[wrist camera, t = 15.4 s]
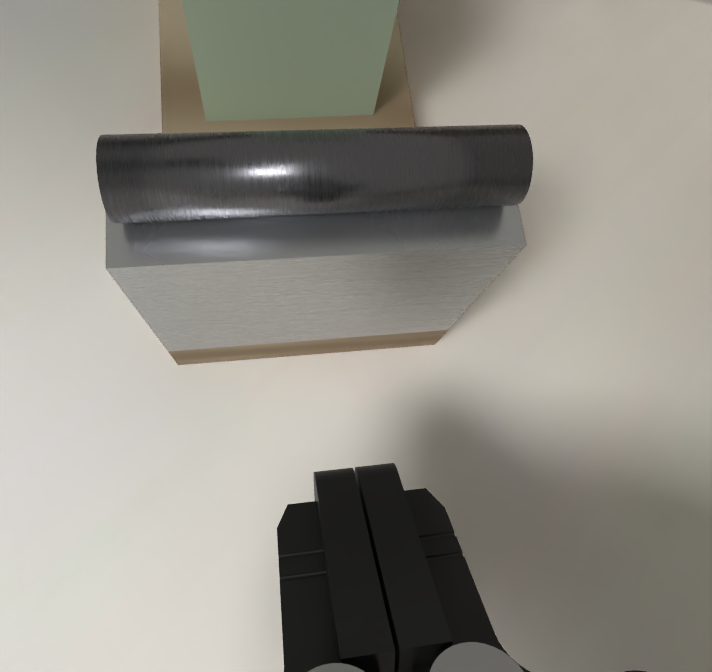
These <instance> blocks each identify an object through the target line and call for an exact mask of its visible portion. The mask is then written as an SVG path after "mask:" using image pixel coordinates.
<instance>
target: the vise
mask: <svg viewBox="0 0 712 672" xmlns="http://www.w3.org/2000/svg"><path fill="white" fill-rule="evenodd" d="M159 26H160V64H161V102H162V133H197V132H238V131H278V130H319V129H359V128H399V127H415V123H414V117H413V111H412V105H411V98H410V92H409V86H408V80H407V74H406V67H405V61H404V55H403V49H402V43H401V36H400V30H399V24H398V18H397V13H396V17H395V22H394V26H393V30H392V35H391V39H390V44H389V48H388V53H387V57H386V61H385V66H384V70H383V75H382V79H381V83H380V88H379V92H378V97H377V101H376V106H375V110H374V114H373V115H358V116H333V117H309V118H284V119H259V120H235V121H210V122H206V118H205V113H204V108H203V103H202V98H201V93H200V88H199V83H198V78H197V73H196V69H195V64H194V59H193V54H192V49H191V44H190V39H189V34H188V29H187V24H186V19H185V15H184V10H183V5H182V0H159ZM446 331H447V330H441V331H428V332H415V333H402V334H389V335H376V336H363V337H350V338H337V339H324V340H311V341H298V342H285V343H272V344H259V345H246V346H232V347H219V348H206V349H193V350H180V351H168V352H169V353H170V355H171V356H172V357H173V359H174V360H175V361H176V363H177V364H178V365H183V364H195V363H208V362H220V361H233V360H245V359H258V358H270V357H283V356H295V355H308V354H320V353H333V352H345V351H358V350H370V349H383V348H395V347H408V346H420V345H433V344H435V343H436V342H437V341H438V340H439V339H440V338H441V337H442V336H443V335H444V334H445V333H446Z"/></svg>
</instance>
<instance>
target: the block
mask: <svg viewBox="0 0 712 672" xmlns="http://www.w3.org/2000/svg"><path fill="white" fill-rule="evenodd" d="M398 4H399V0H182V5H183V10H184V15H185V19H186V24H187V29H188V34H189V39H190V44H191V49H192V54H193V59H194V64H195V69H196V73H197V78H198V83H199V88H200V93H201V98H202V103H203V108H204V113H205V118H206V122H210V121H235V120H259V119H284V118H309V117H333V116H358V115H373V114H374V110H375V106H376V101H377V97H378V92H379V88H380V83H381V79H382V75H383V70H384V66H385V61H386V57H387V53H388V48H389V44H390V39H391V35H392V30H393V26H394V22H395V17H396V13H397V8H398Z"/></svg>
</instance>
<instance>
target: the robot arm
mask: <svg viewBox="0 0 712 672" xmlns="http://www.w3.org/2000/svg"><path fill="white" fill-rule="evenodd" d="M314 494H315V502H306V503H297V504H289V505H287V507H286V510H285V512H284V514H283V516H282V519H281V521H280V523H279V525H278V527H277V536H278V555H279V574H280V593H281V612H282V632H283V651H284V672H529V671H528V670H526V669H525V668H523V667H522V666H520V665H519V664H518V663H517V662H515V661H514V660H513V659H512V658H511V657H510V656H509V655H508V654H507V652H506V651H505V650H504V649H503V647H502V646H501V644H500V643H499V641H498V639H497V637H496V635H495V633H494V631H493V628H492V626H491V623H490V621H489V618H488V616H487V613H486V611H485V608H484V606H483V603H482V601H481V598H480V595H479V593H478V590H477V588H476V585H475V583H474V580H473V578H472V575H471V573H470V570H469V568H468V565H467V563H466V560H465V558H464V557H463V555H462V550H461V548H460V545H459V543H458V540H457V537H456V536H455V535H454V530H453V527H452V525H451V522H450V520H449V517H448V515H447V512H446V510H445V507H444V506H443V505H442V504H441V503H440V502H439V501H438V500H437V499H436V498H435V497H434V496H433V495H432V494H431V493H430V492H429V491H428V490H427V489H426V488H424V489H415V490H407V491H404V489H403V486H402V483H401V480H400V477H399V474H398V471H397V468H396V466H395V464H394V463H390V464H381V465H372V466H363V467H355V470H353V468H346V469H337V470H328V471H319V472H314ZM626 672H645V671H626Z"/></svg>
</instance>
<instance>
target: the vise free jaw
mask: <svg viewBox="0 0 712 672" xmlns="http://www.w3.org/2000/svg"><path fill="white" fill-rule="evenodd" d="M96 164H97V175H98V182H99V188H100V193H101V197H102V201H103V204H104V208H105V210H106V270H107V271H108V272H109V274H110V275H111V276H112V278H113V279H114V280H115V282H116V283H117V284H118V285H119V287H120V288H121V289H122V291H123V292H124V293H125V295H126V296H127V297H128V299H129V300H130V301H131V303H132V304H133V305H134V307H135V308H136V309H137V311H138V312H139V313H140V315H141V316H142V317H143V319H144V320H145V321H146V323H147V324H148V325H149V327H150V328H151V329H152V331H153V332H154V333H155V335H156V336H157V337H158V339H159V340H160V341H161V343H162V344H163V345H164V347H165V348H166V349H167V351H180V350H193V349H206V348H219V347H232V346H246V345H259V344H272V343H285V342H298V341H311V340H324V339H337V338H350V337H363V336H376V335H389V334H402V333H415V332H428V331H441V330H448V329H449V328H450V327H451V326H452V325H453V324H454V323H455V322H456V321H457V320H458V318H459V317H460V316H461V315H462V314H463V313H464V312H465V311H466V310H467V309H468V308H469V307H470V305H471V304H472V303H473V302H474V301H475V300H476V299H477V298H478V297H479V296H480V295H481V294H482V292H483V291H484V290H485V289H486V288H487V287H488V286H489V285H490V284H491V283H492V282H493V281H494V279H495V278H496V277H497V276H498V275H499V274H500V273H501V272H502V271H503V270H504V269H505V268H506V267H507V265H508V264H509V263H510V262H511V261H512V260H513V259H514V258H515V257H516V256H517V255H518V254H519V252H520V251H521V250H522V249H523V248H524V247H525V246H526V241H525V236H524V231H523V226H522V221H521V217H520V212H519V207H518V204H520V203H521V202H522V201H523V199H524V198H525V196H526V194H527V192H528V189H529V186H530V182H531V177H532V170H533V152H532V145H531V140H530V137H529V134H528V132H527V130H526V129H525V128H524V127H523V126H522V125H480V126H440V127H399V128H359V129H319V130H278V131H238V132H197V133H157V134H117V135H101V136H100V137H99V139H98V142H97V150H96Z"/></svg>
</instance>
